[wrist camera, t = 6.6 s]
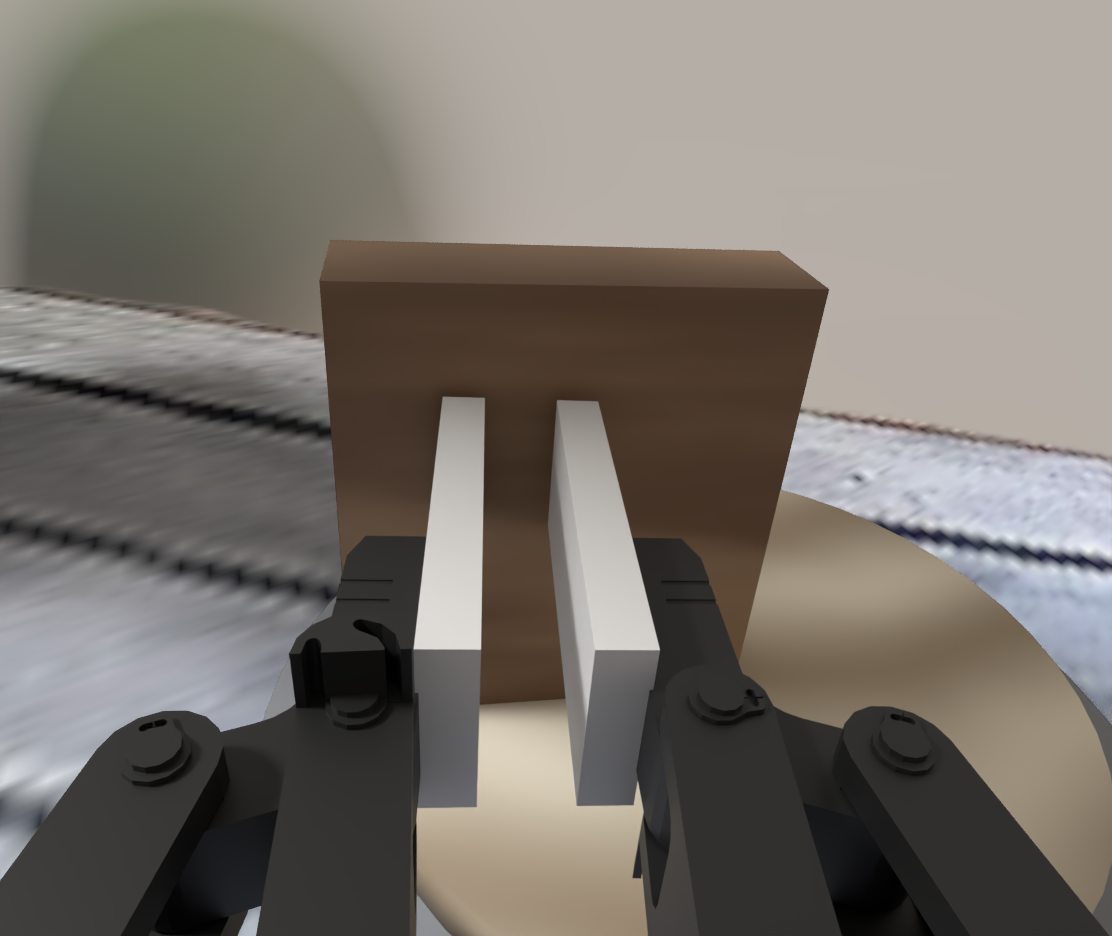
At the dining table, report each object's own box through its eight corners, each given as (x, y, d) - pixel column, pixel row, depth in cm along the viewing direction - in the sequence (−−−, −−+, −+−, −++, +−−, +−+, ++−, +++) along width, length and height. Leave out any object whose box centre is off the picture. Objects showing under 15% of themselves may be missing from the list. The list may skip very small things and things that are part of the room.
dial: (370, 515, 28) (351, 158, 22) (863, 500, 31) (959, 183, 25) (332, 1164, 13) (243, 574, 7) (1301, 1012, 16) (1793, 511, 10)
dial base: (162, 641, 26) (151, 593, 25) (717, 469, 37) (725, 431, 36) (604, 1875, 9) (622, 1874, 8) (1344, 890, 21) (1388, 842, 20)
